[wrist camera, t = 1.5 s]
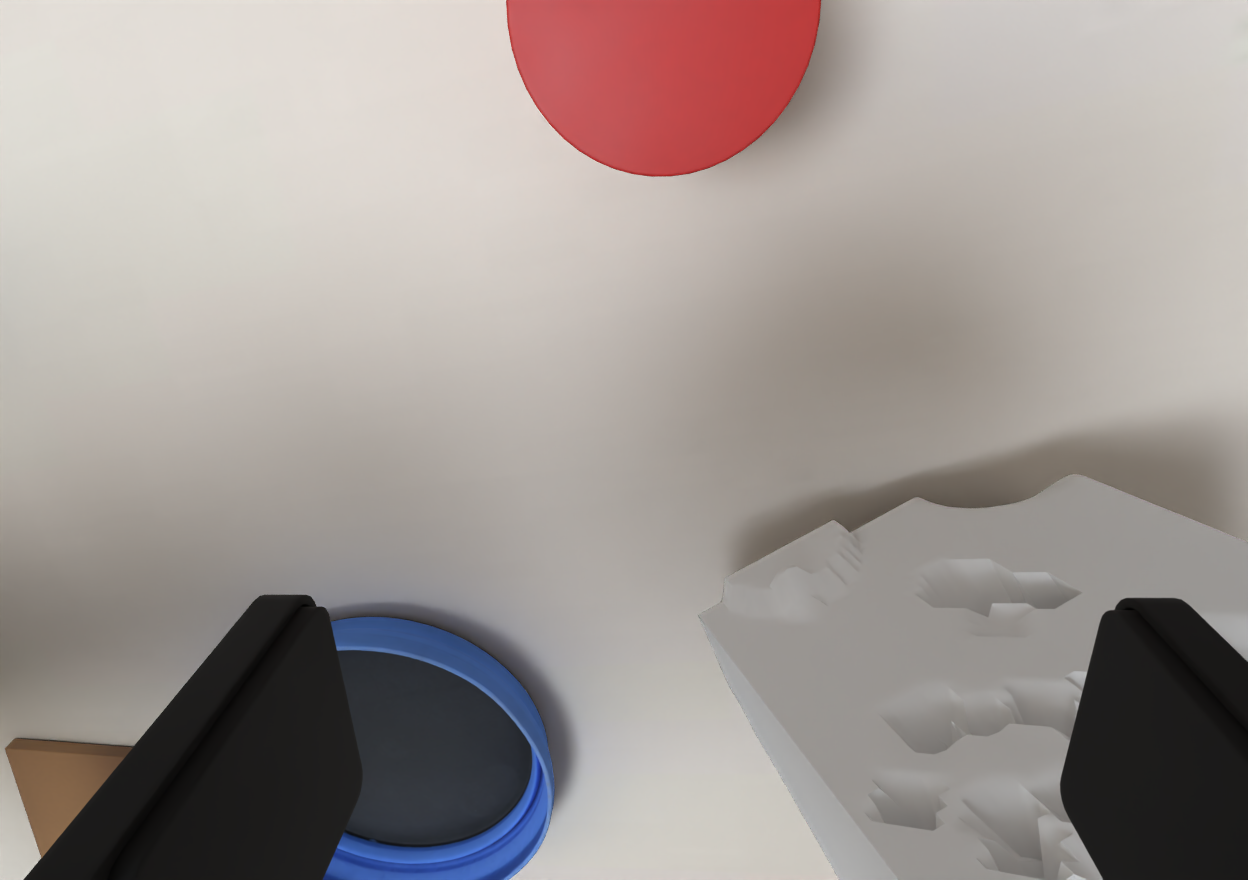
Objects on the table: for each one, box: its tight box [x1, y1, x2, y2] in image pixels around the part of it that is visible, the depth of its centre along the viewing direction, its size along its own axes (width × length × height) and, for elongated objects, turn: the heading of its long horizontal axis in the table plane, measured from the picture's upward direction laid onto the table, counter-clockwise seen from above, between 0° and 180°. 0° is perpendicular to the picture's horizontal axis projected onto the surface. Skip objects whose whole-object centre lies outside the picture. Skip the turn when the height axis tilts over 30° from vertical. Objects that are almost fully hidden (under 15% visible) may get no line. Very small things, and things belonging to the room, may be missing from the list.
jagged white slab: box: [698, 474, 1248, 880], centre depth 28 cm, size 20×16×25 cm
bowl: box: [323, 617, 555, 880], centre depth 42 cm, size 18×18×4 cm
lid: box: [506, 0, 821, 176], centre depth 20 cm, size 8×8×2 cm
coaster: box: [5, 739, 133, 858], centre depth 47 cm, size 12×12×1 cm
